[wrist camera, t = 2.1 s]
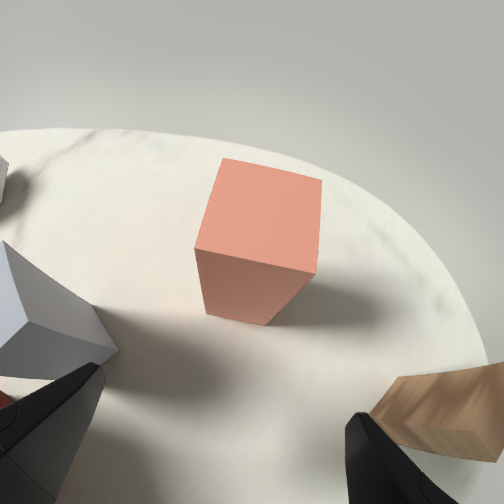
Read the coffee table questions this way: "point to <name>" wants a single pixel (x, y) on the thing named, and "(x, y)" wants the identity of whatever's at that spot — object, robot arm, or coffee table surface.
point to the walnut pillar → (447, 412)
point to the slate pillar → (45, 324)
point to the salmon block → (257, 240)
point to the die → (3, 176)
